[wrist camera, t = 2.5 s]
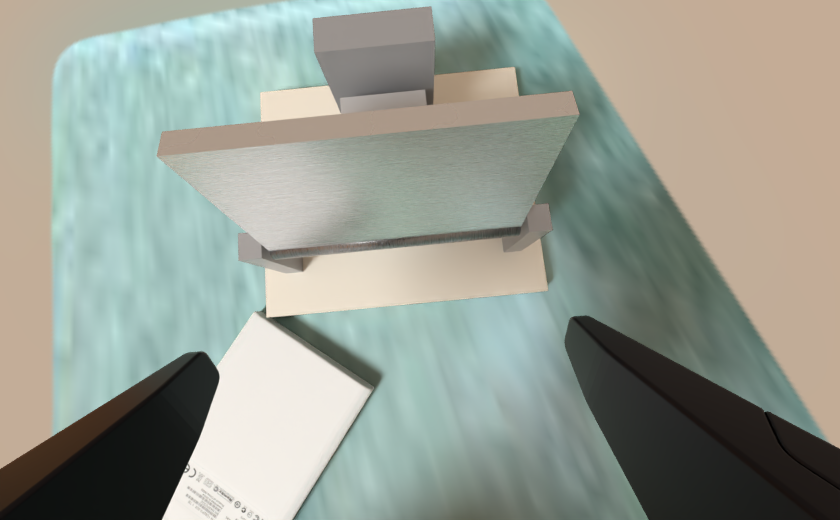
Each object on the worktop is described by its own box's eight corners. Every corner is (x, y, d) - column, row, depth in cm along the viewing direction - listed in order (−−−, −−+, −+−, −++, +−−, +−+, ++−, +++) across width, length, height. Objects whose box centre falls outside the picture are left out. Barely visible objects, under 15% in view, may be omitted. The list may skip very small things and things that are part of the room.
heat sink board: (542, 291, 21) (613, 278, 13) (274, 317, 21) (179, 319, 13) (510, 77, 23) (555, -48, 15) (267, 102, 23) (182, -10, 15)
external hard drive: (376, 385, 21) (252, 584, 19) (265, 310, 21) (138, 496, 20) (371, 391, 19) (236, 609, 18) (252, 310, 20) (113, 512, 18)
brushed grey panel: (516, 240, 16) (582, 120, 9) (278, 263, 16) (154, 162, 9) (511, 217, 16) (570, 85, 9) (280, 239, 16) (162, 125, 9)
